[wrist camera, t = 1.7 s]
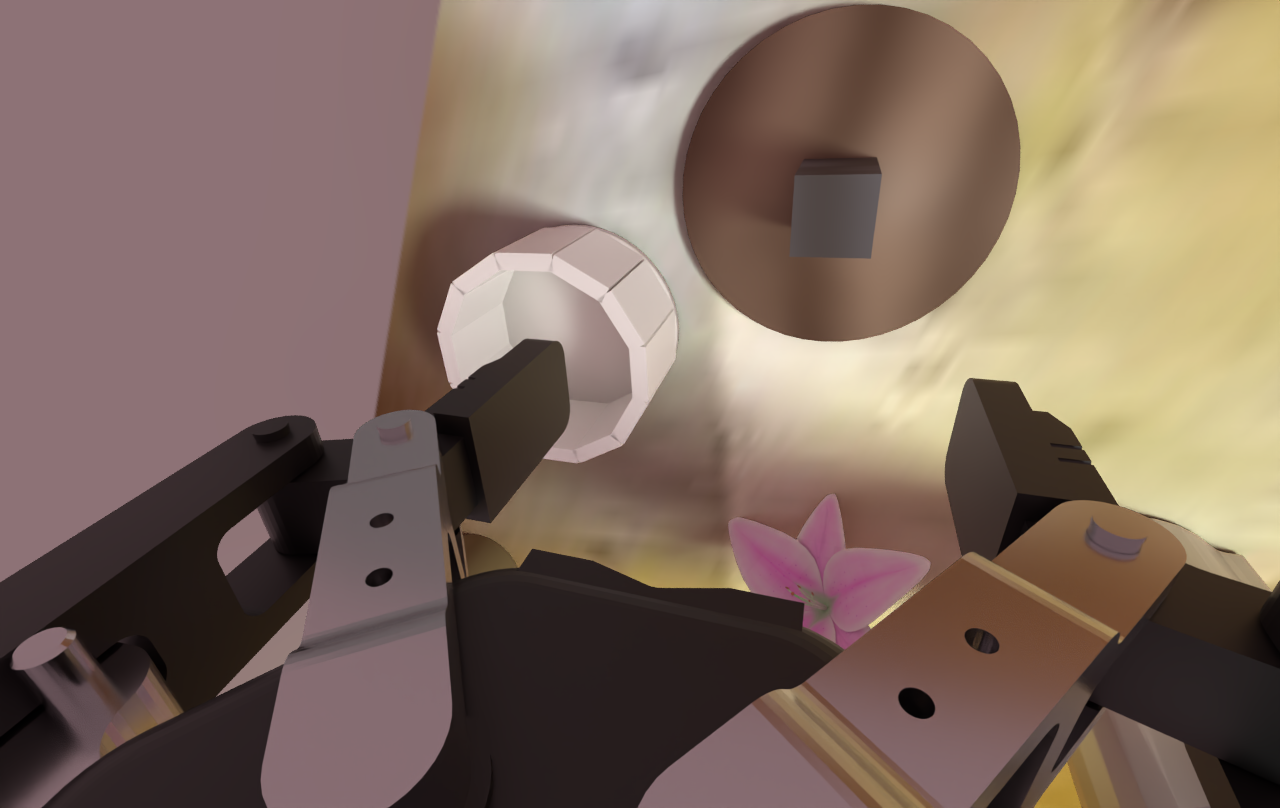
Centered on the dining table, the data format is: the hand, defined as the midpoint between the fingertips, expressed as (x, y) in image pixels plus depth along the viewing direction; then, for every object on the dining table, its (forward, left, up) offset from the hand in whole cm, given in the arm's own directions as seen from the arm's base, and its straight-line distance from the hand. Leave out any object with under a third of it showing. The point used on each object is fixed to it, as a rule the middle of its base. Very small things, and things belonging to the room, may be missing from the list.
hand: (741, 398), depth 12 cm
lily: (-2, +20, -19) cm, 27 cm away
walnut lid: (-1, -1, -19) cm, 19 cm away
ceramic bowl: (+12, +6, -18) cm, 23 cm away
